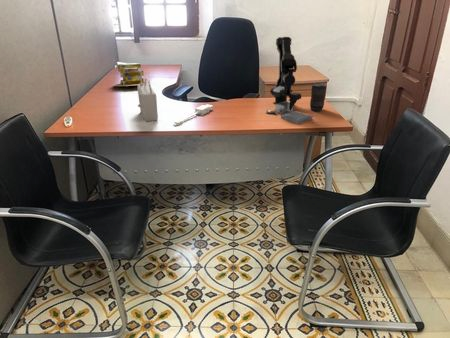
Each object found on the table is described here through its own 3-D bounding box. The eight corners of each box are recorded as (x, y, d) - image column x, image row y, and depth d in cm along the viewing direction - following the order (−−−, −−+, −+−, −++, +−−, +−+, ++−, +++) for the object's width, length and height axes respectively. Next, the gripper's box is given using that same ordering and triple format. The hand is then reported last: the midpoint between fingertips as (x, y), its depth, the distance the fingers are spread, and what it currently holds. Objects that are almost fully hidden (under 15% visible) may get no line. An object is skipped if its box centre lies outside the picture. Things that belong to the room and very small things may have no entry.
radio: (137, 111, 201) (132, 67, 189) (151, 109, 204) (147, 66, 192) (143, 123, 183) (138, 76, 171) (159, 122, 185) (154, 74, 174)
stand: (280, 118, 191) (281, 114, 190) (295, 113, 198) (295, 110, 197) (297, 124, 183) (298, 120, 182) (312, 119, 190) (312, 115, 189)
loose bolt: (266, 113, 198) (266, 109, 196) (266, 112, 200) (267, 108, 199) (275, 114, 196) (275, 110, 195) (276, 113, 199) (276, 108, 197)
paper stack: (113, 83, 257) (110, 60, 249) (147, 81, 263) (145, 58, 255) (112, 92, 236) (109, 67, 228) (149, 89, 242) (147, 65, 234)
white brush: (171, 126, 182) (170, 121, 181) (206, 108, 206) (206, 102, 204) (178, 128, 180) (178, 122, 178) (213, 109, 203) (213, 104, 202)
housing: (275, 112, 200) (275, 103, 198) (284, 109, 205) (285, 101, 202) (282, 114, 196) (283, 106, 194) (292, 111, 201) (293, 103, 198)
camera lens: (306, 108, 206) (309, 83, 199) (318, 107, 209) (321, 82, 202) (314, 112, 200) (317, 86, 193) (326, 111, 202) (329, 85, 195)
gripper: (264, 80, 194) (262, 106, 201) (289, 86, 181) (286, 115, 189) (278, 77, 200) (276, 103, 208) (303, 83, 188) (300, 111, 195)
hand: (284, 108), depth 200 cm, fingers open, 9 cm apart
